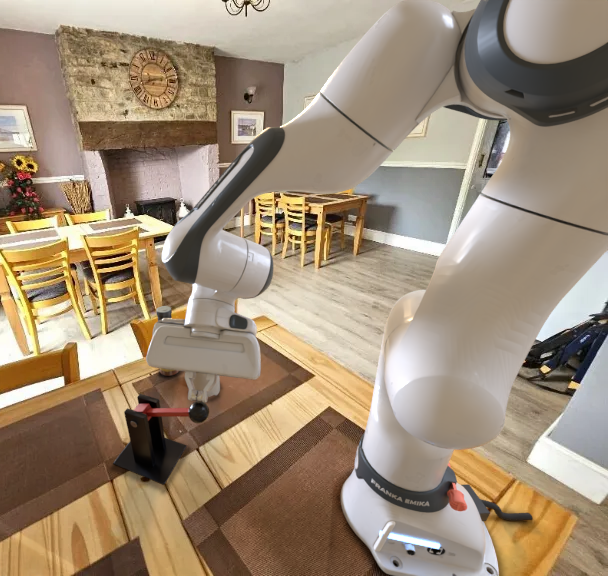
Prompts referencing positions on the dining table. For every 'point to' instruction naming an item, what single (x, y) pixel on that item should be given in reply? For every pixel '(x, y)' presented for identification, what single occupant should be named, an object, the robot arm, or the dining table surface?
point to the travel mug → (201, 383)
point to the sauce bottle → (161, 313)
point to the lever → (177, 411)
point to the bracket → (149, 445)
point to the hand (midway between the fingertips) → (197, 401)
